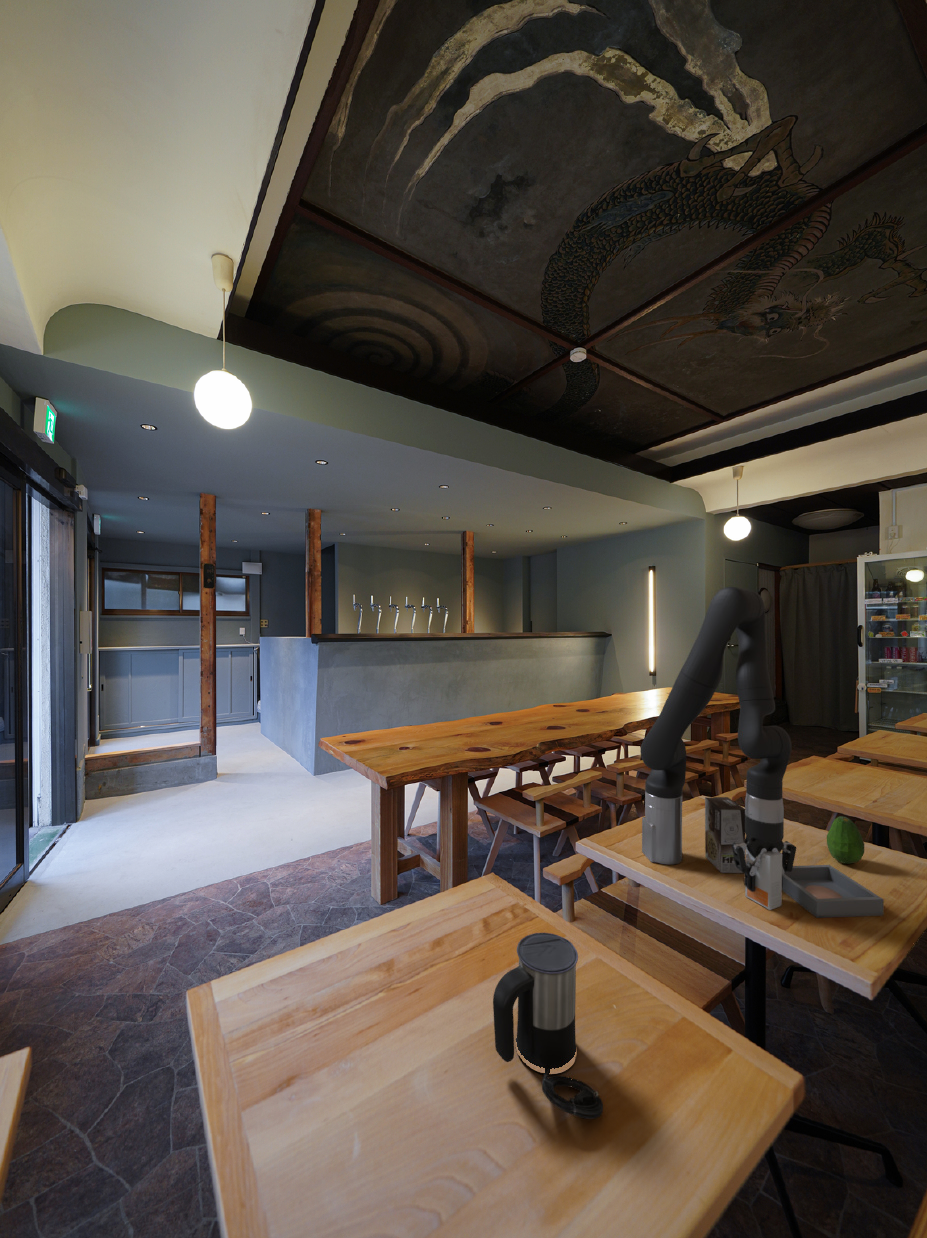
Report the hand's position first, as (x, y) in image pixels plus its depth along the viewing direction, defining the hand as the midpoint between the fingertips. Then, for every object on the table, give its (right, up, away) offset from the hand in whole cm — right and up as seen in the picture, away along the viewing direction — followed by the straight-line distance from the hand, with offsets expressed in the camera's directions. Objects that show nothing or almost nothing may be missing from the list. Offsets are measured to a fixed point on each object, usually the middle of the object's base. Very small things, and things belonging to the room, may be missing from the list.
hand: (763, 889), depth 115 cm
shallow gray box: (+15, -3, +2) cm, 15 cm away
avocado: (+32, -3, +18) cm, 37 cm away
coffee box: (0, -3, +17) cm, 17 cm away
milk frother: (-54, -4, -43) cm, 69 cm away
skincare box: (0, -3, 0) cm, 3 cm away
